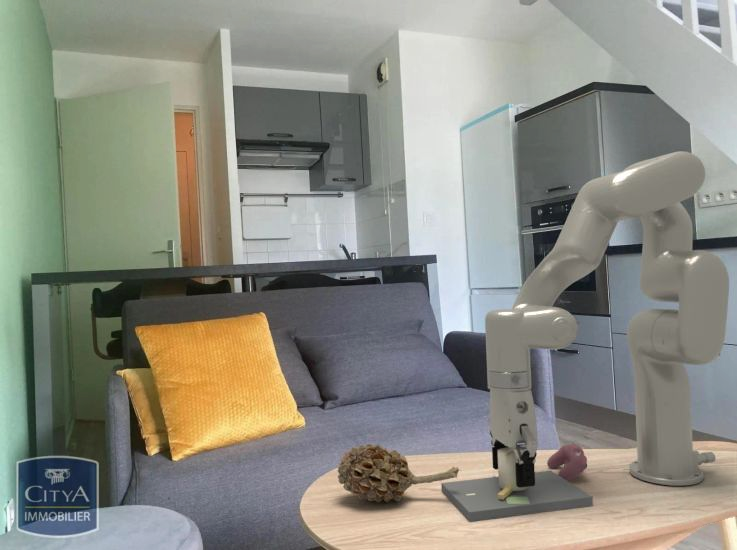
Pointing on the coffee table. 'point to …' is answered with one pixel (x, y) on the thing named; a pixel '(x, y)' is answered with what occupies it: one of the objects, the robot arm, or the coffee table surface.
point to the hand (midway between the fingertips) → (513, 476)
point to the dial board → (514, 497)
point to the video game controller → (569, 461)
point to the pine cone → (381, 473)
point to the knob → (507, 472)
